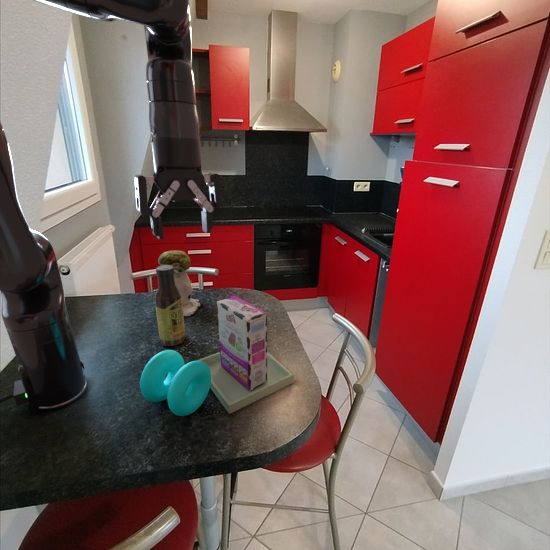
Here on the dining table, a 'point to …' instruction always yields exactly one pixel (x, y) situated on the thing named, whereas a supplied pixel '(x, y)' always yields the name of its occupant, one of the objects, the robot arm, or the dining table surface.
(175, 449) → the dining table surface
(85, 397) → the dining table surface
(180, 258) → the green-topped white figurine
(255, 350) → the candy bar box
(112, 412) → the dining table surface
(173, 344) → the sauce bottle
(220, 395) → the tray
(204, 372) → the turquoise spool
